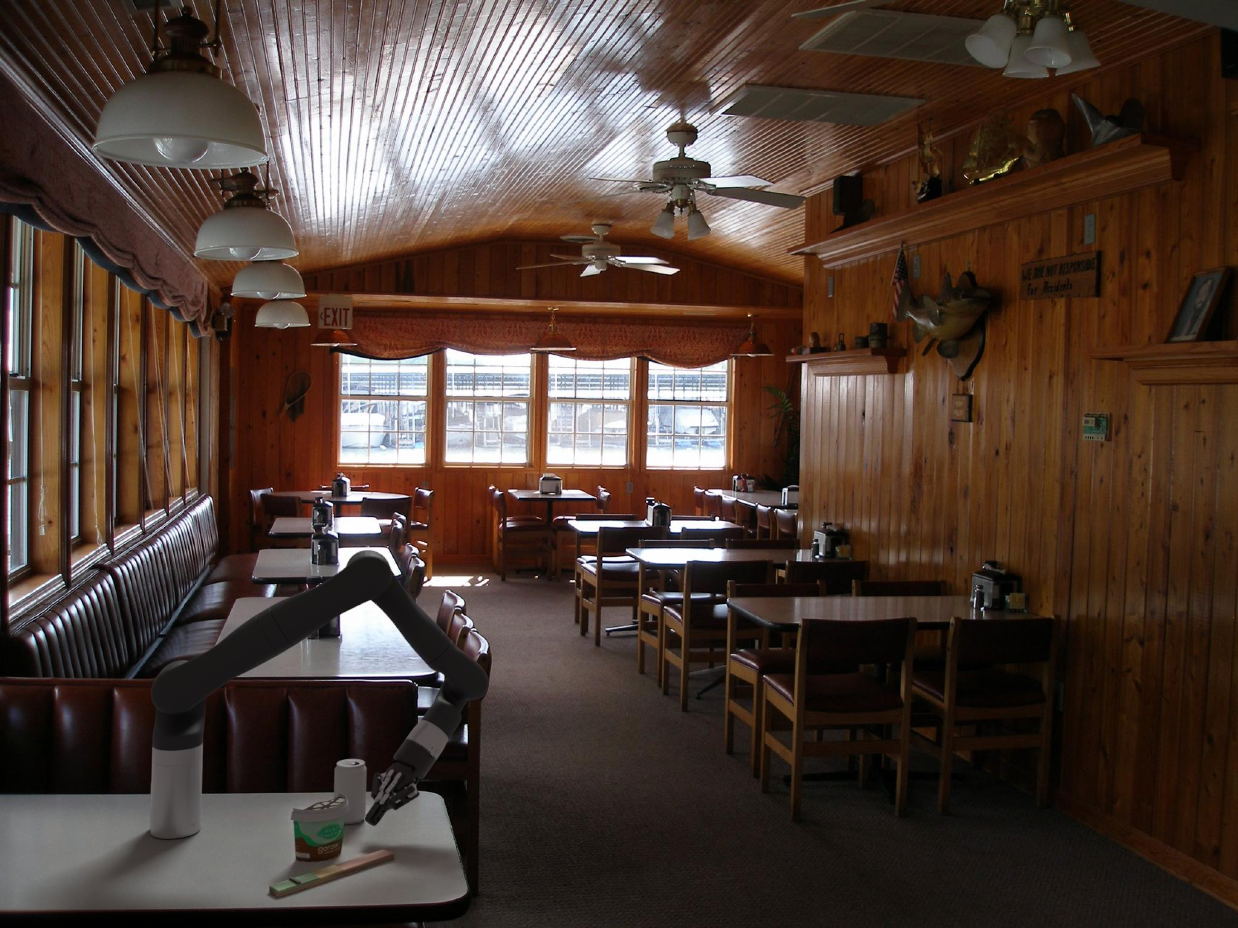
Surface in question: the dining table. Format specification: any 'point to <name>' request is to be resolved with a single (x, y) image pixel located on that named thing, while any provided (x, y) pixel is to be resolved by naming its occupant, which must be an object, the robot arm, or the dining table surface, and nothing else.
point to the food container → (320, 829)
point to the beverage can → (352, 787)
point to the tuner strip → (330, 873)
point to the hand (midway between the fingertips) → (369, 822)
